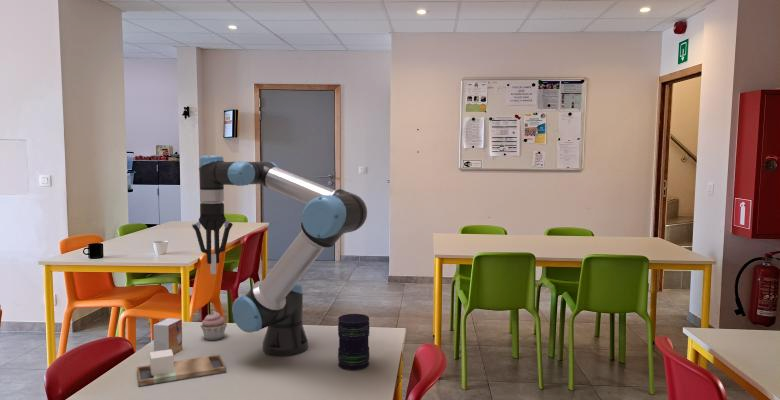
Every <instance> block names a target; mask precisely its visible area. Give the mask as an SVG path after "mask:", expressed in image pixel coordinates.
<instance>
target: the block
mask: <svg viewBox="0 0 780 400" xmlns="http://www.w3.org/2000/svg"><path fill="white" fill-rule="evenodd" d="M149 365H150V370H151V375H159V374H165V373H171V372H174V354H173V353H172V349H169V350H162V351H155V352H154V351H149Z"/></svg>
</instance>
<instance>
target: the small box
mask: <svg viewBox="0 0 780 400" xmlns="http://www.w3.org/2000/svg"><path fill="white" fill-rule="evenodd" d="M152 330H153V352H155V351H162V350H169V349H172V353H173V355H174V354H177V353H178V352H180V351H182V350H183V321H182V318H172V317H171V318H170V317H169V318H168V317H167V318H165V319H164V320H160V321H159V322H157V323H154V324H153V329H152Z"/></svg>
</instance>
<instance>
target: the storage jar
mask: <svg viewBox="0 0 780 400" xmlns="http://www.w3.org/2000/svg"><path fill="white" fill-rule="evenodd" d="M337 330H338V331H337V332H338V333H337V334H338V336H337V337H338V349H337V352H338V353H337V358H338V360H337V361H338V363H337V364H338V365H337V366H338V367H339V368H340V369H342V370H344V371H350V372H352V371H353V372H355V371H356V372H357V371H362V370H366V369H367V368H369V366H370V347H369V336H370V316H368V315H365V314H361V313H347V314H343V315H340V316H339V317H338V323H337Z"/></svg>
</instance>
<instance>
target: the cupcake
mask: <svg viewBox="0 0 780 400" xmlns="http://www.w3.org/2000/svg"><path fill="white" fill-rule="evenodd" d="M199 326H200V328H201V330H202V332H203V336H204V339H205V340H207V341H218V340H221V339H223V338H224V335H225V331H226V328H227V326H228V323H227V322H225V317H223V316H221V313H219V312H218V311H215V310H212V311H211V313H210V314H207V315H206V316H205V317H204V319H203V320H202V321H201V325H199Z"/></svg>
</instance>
